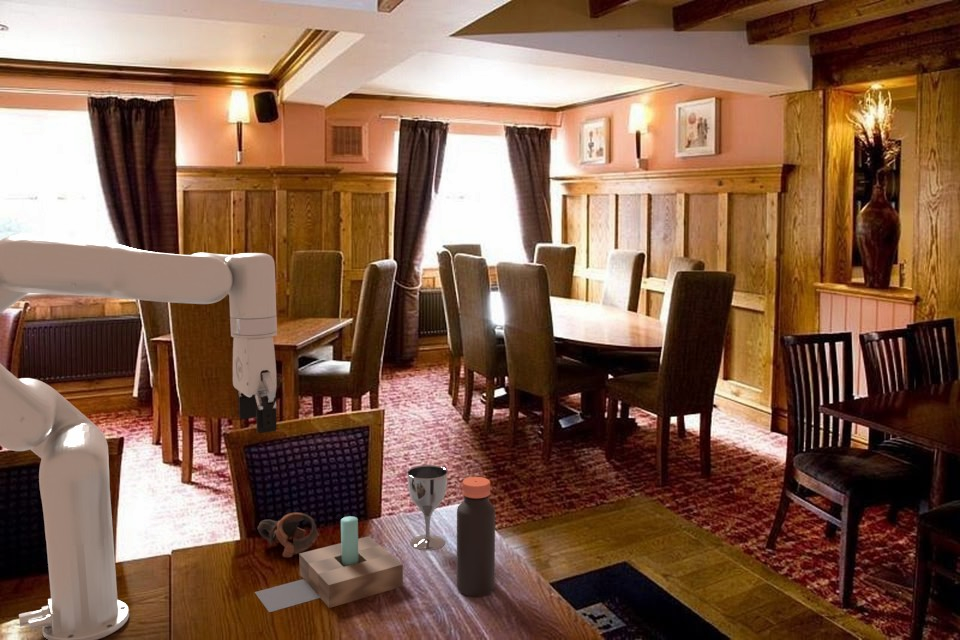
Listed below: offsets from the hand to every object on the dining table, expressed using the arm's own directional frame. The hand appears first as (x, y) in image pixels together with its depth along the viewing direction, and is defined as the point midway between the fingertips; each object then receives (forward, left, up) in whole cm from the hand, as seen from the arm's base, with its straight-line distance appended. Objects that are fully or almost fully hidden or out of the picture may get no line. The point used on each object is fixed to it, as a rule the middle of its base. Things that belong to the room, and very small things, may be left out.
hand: (257, 424), depth 135 cm
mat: (+3, -5, -30) cm, 31 cm away
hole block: (+14, -6, -30) cm, 34 cm away
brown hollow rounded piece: (+9, +14, -31) cm, 35 cm away
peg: (+14, -6, -30) cm, 34 cm away
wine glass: (+34, +1, -31) cm, 46 cm away
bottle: (+32, -20, -31) cm, 49 cm away
